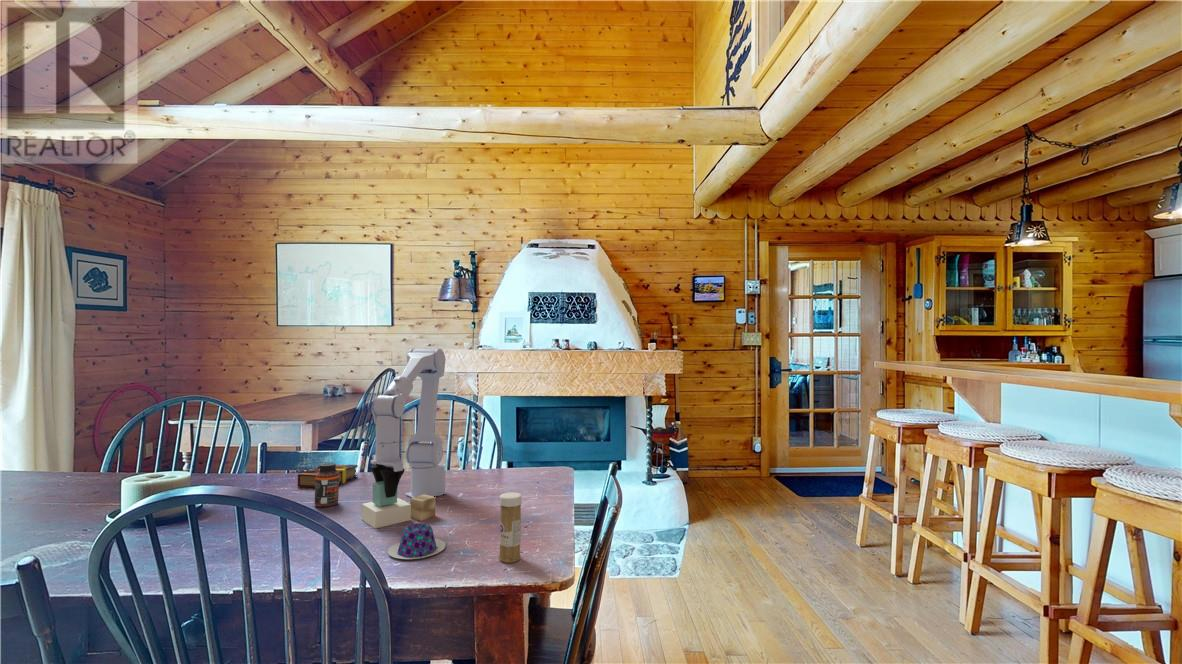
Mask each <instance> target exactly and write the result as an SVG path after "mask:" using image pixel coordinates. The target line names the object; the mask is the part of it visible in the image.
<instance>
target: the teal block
mask: <svg viewBox="0 0 1182 664" xmlns="http://www.w3.org/2000/svg"><path fill="white" fill-rule="evenodd" d="M397 498H398V490H397V491H396V495H395V496H394V497H389V498H387V497H386V494H385V487H384V481H380V482H376V481H375V482H372V502H373V503H374V504H376V505H378V506H384V505H388V504H393V503H397Z"/></svg>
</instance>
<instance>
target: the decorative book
mask: <svg viewBox="0 0 1182 664" xmlns="http://www.w3.org/2000/svg"><path fill="white" fill-rule="evenodd" d="M358 467H359V466H358V464H336V468H335V469H336V470H337V471H338V472H339V485H340V483H343V484H345V483H346V482H347V481H351V480H353V479H352V478H354V477H356V476H357V477H358V474H356V468H358ZM319 471H320V465H319V466H317V467H316V468H313V469H306V470H303V472H301V473H298V474H297V488H314V489H315V480H316V474H317V473H318V472H319ZM357 477H356V478H357ZM350 479H351V480H350ZM354 479H355V478H354ZM344 482H345V483H344Z"/></svg>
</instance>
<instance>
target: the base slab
mask: <svg viewBox="0 0 1182 664" xmlns="http://www.w3.org/2000/svg"><path fill="white" fill-rule="evenodd" d="M411 520H412V518H411V504H410V502H408V501H405V500H403V499H401V498H399V497H397V503H393V504H388V505H384V506H378V505H376V504H374V503H373V501H370V502H365V503H361V521H363V522H365V523H366V524H367V525H369V526H371V527H372V528H374V529H378V528H383V527H387V526H391V525H396V524H401V523H405V522H409V521H411Z"/></svg>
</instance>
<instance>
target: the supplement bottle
mask: <svg viewBox="0 0 1182 664" xmlns="http://www.w3.org/2000/svg"><path fill="white" fill-rule="evenodd" d="M336 465H337V464H336V463H335V462H325V463H324V462H323V463H321V464H319V466H320V471H319V472H318V473H317V474H316V480H315V488H314V506H315V507H319V508H328V507H332V506H335V505H337V504H338V503H339V492H340V491H339V485H340V484H339V472H338V471H337V470H336V469H335V468H336Z"/></svg>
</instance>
